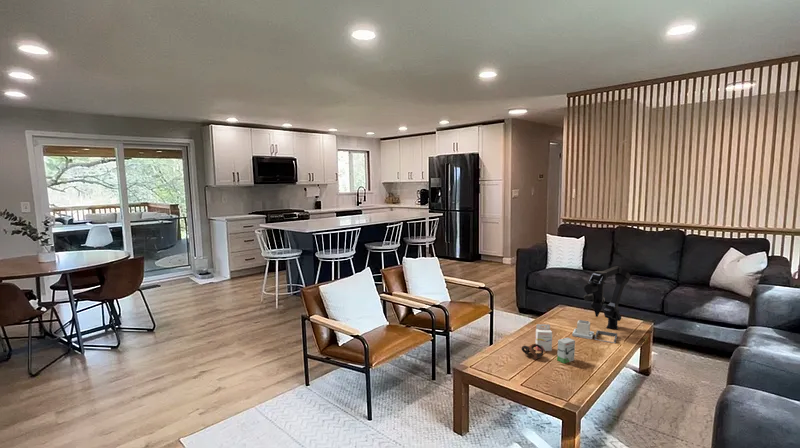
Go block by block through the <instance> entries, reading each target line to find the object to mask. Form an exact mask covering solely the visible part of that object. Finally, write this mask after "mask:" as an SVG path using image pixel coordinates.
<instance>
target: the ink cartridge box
mask: <svg viewBox="0 0 800 448" xmlns="http://www.w3.org/2000/svg"><path fill="white" fill-rule="evenodd" d="M535 326H536V327H535V342H534V344H538V345H540V346H541V347H542V348H543V352H552V351H553V350H552V349H553V331H552V330H551V324H546V323H542V324H540V323H536V325H535ZM535 350H536V352H537V351H539V352H542V350H541V349H540V348H539V347H538V346H536V347H535Z"/></svg>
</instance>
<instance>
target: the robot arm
mask: <svg viewBox="0 0 800 448" xmlns="http://www.w3.org/2000/svg"><path fill="white" fill-rule="evenodd" d="M612 276H614V281H615V286H614V289H613V292H612V295H611V299H610V301H609V303H608V304H605V306H604V303H605V297H604V285H605V284H607V283H606V282H605V281H607V280H608V278H609V277H612ZM630 279H631V274H630V273H629V272H628V271H627V270H625V269H623V268H622V267H621V266H616V265H614V266H612V267H610V268H606V269H605V270H597V271H596V270H595V271H594V272H592V274H591V276H590V278H589V280H588V282H587V284H586V285H585V286H584V287H583V289H584V292H585V293H586V294H584V295H583V301H585V302H589V301H591V303H590V307H591V309H593V311H594V315H595V317H596V318H598V317H599V315H600V313H601V311H602V309H603V306H604V309H603V314H604V318H607V325H606V329H611V330H618V329H619V325H618V322H619V321H621V320H622V316H621V315H620V308H619V304H620V300H621V297H622V294H623V290H624V287H625V285H626V284H628V283H629V281H630Z"/></svg>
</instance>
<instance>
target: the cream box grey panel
mask: <svg viewBox="0 0 800 448" xmlns="http://www.w3.org/2000/svg"><path fill="white" fill-rule="evenodd" d="M576 329H577V334H582V335H588V336H589V335H590V331H591V321H589V320H583V319H579V320H577V323H576Z"/></svg>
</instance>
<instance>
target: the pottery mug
mask: <svg viewBox="0 0 800 448" xmlns="http://www.w3.org/2000/svg"><path fill="white" fill-rule="evenodd" d="M536 346H538V347H539V348H540V349H541V350H542V351H540V352H537V349H534V348H536ZM521 351H522V352H523V353H524V354H525V356H527V355H528V354H529V353H531V354H532V355H533V357H532V360H533V361H536V360H538V359H541V358H542V357H543V356H544V351H543V348H542V347H541V346H540V345H538V344H535V343H533V344H530V345H529V346H528V345H522V346H521Z"/></svg>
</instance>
